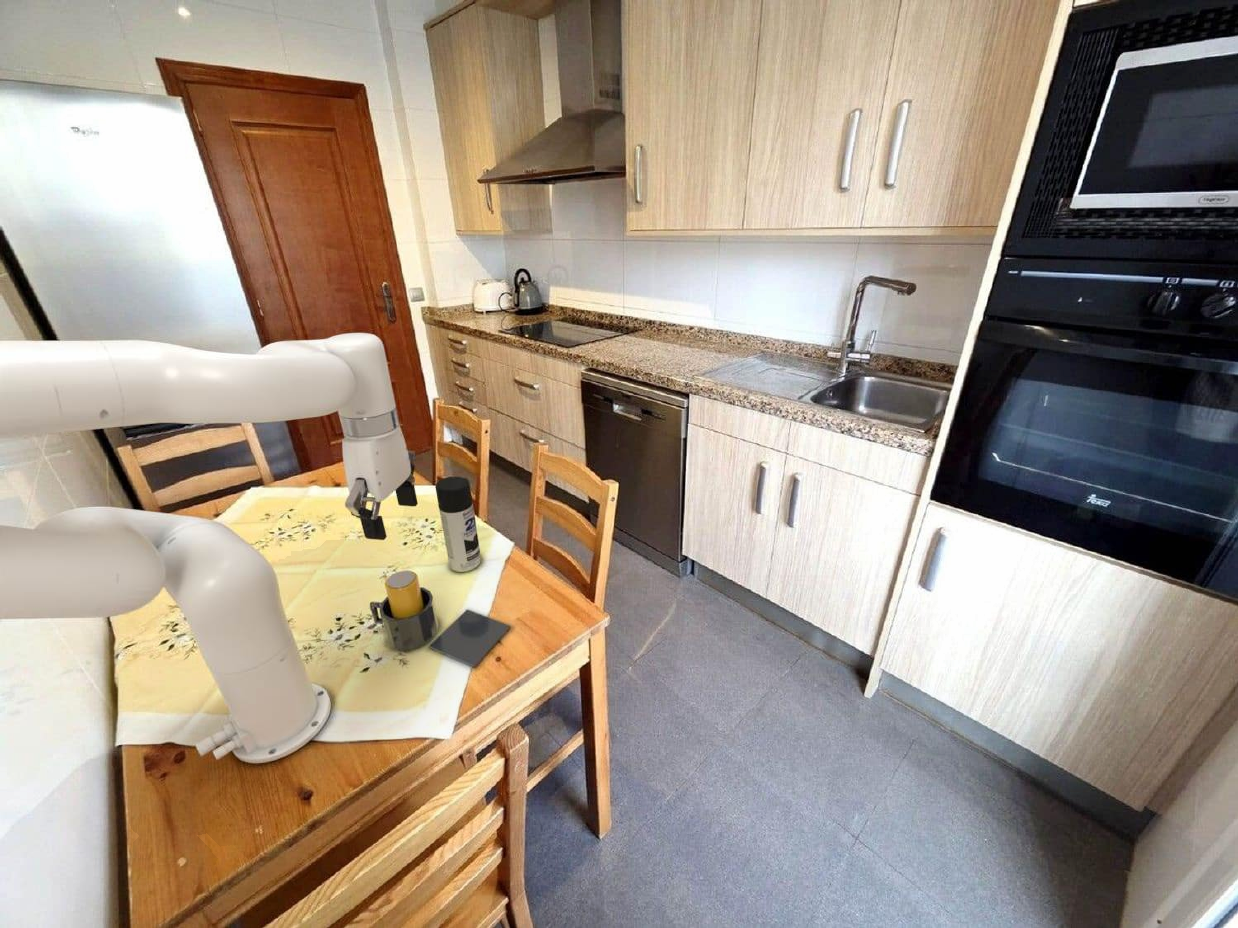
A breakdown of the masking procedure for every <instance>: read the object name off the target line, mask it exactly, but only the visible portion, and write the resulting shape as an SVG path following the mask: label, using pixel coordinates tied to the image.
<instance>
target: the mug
mask: <svg viewBox="0 0 1238 928" xmlns="http://www.w3.org/2000/svg"><path fill="white" fill-rule="evenodd" d="M420 590H421V595H422V600H423V605H424V610H422V611H421V612H419V613H418V614H416V615H414V616H411V617H408V618H402V619H395V618H393V616H392V611H391V607H390V603H389V599H388V595H387V596H386V597H385V598H384V599H383V601H375V600H374V601H370V602H369V608H370V612H371V616H372V619H373V623H375V624H377V625H378V624H379V625H382V626H383V629H384V633H385V637H386V640H387V643H388V645H389V646H390V648H392V650H396V651H400V652H411V651H415V650H419V649H420V648H423V647H424V646H426V645H428V644H429V643H430V642H432V641H433V640H434V638H436V635H437V634H438V631H439V620H438V616H437V611H436V606H435V605H436V604H435V601H434V596H433V594H432V592H431V591H430V590H429V589H427V588H425V587H421V586H420ZM378 609H379V610H378Z"/></svg>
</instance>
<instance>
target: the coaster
mask: <svg viewBox="0 0 1238 928" xmlns="http://www.w3.org/2000/svg"><path fill="white" fill-rule="evenodd" d="M510 630H511V625H509V624H507V623H504V622H500V621H498V620H495V619H493V618H490V617H488V616H486V615H482V614H480V613H477V612H475V611H472V610H469V609H466V610H465V611H464V612H463V613H462V614H461V615H460V616H459V617H457V618H456V620H454V621H453V622H452V623H451V624H450V625H449V626H448V627H447V628H446V629H445V630H444V631H442V633H440V635H439V636H438V637H436V638H435V640H433V641H432V642H431V643H430V644H429V645H428V648H429V649H430V650H433V651H435V652H437V653H440V654H442V655H444V656H447V657H449V658H451V659H453V660H455V661H458V662H460V663H462V664H464V665H467V666H469V667H472V668H474V669H475V668H477V667H478V666H479V664H481V662H483V660H484V659H485V658H486V657H487V656H488V654H490V652H491V651H492V650H493V649H494V648H495V646H496V645H498V643H499V642H500V641H501V640H502V639H503V638H504V637H505V635H506V634H508V632H509V631H510Z"/></svg>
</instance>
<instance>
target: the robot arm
mask: <svg viewBox="0 0 1238 928" xmlns="http://www.w3.org/2000/svg"><path fill="white" fill-rule="evenodd" d="M388 365H389V364H388V361H387V356H386V350H385V346H384V344H383V341H382V340H381V339H380V337H378V336H377V335H376V334H372V333H369V332H350V333H349V332H348V333H341V334H336V335H333V336H330V337H328V338H323V339H322V338H321V339H303V340H301V339H300V340H281V341H280V340H279V341H276V342H272V343H268V344H266V345H265V346H263V347H262V348H260V349H259V350H258V351H257V352H256V353H255V354H248V353H247V354H246V353H232V352H231V353H230V352H228V353H227V352H220V351H212V350H204V349H197V348H194V347H189V346H183V345H179V344H173V343H168V342H161V341H154V340H153V341H152V340H144V339H143V340H141V339H116V340H115V339H114V340H113V339H112V340H111V339H110V340H109V339H107V340H105V339H104V340H103V339H102V340H101V339H100V340H32V339H31V340H0V440H4V439H14V438H26V437H33V436H43V435H52V434H53V435H54V434H63V433H72V432H73V433H74V432H81V431H91V430H101V429H111V428H121V427H130V426H141V425H151V424H171V423H172V424H186V425H187V424H189V425H195V424H196V425H200V424H258V423H259V424H261V423H263V424H264V423H274V422H275V423H276V422H286V421H293V420H300V419H301V420H302V419H309V418H317V417H318V418H319V417H324V416H327V415H330V414H334V413H336V412H337V414H338V417H339V421H340V426H341V430H342V433H343V436H344V437H343V438H342V441H341V443H342V445H341V447H342V449H341V450H342V461H343V462H342V463H343V468H344V474H345V475H344V476H345V480H346V484H347V489H348V493H349V494H348V496H347V498H346V501H345V502H344V507H345V509H347V510H348V511H349V512H350V514H351V516H353V517H356V518H357V519H360V523H361V527H362V532H363V535H364V537H365V539H366V540H378V541H384V540H386V538H387V532H386V527H385V524H384V519H383V516H382V515H379V514H380V510H381V505H382V502H383V501H385V500H386V499H387V498H388V497H389V496H391V495H392V494H393V493H394V492H395V495H396V500H397V504H398V506H402V507H417V505H418V504H419V503H418V497H417V492H416V487H415V484H414V483H415V482H416V478H415V476H414V474H415V468H416V466H415V452H414V451H411V450H408V447H407V443H406V440H405V437H404V433H403V431H402V428H401V425H400V421H399V415H398V411H397V405H396V400H395V395H394V391H393V386H392V385H393V384H392V381H391V376H390V370H389V366H388ZM368 494H370V495H371V496H368ZM368 503H372V505H371V509H369V508H367V504H368ZM163 588H164V590H165V591H166V593H167V594H168V595H169V596H170V598H171V599H172V600H173V601H174V603H175V604H176V606H177V607H178V608H179V610H180V611H181V613H182V614H183V616H184V618H185V619H186V621H187V624H188V626H189V628H190V631H191V634H192V635H193V638H194V641H195V643H196V646H197V648H198V650H199V652H200V654H201V657H202V659H203V660H204V663H205V665H206V667H207V668H208V670H209V672H210V674H211V676H212V678H213V681H214V682H215V684H216V687H217V689H218V691H219V692H220V694H221V697H222V699H223V701H224V703H225V705H226V707H227V709H228V711H229V713H228V714H227V718H228V719H229V721H228V722H227V723H225V724H223V725H222V726H221V727H222V729H220V730H218V731H217V732H215V733H213V734H211V735H210V734H209V736H207V737H204V738H203V739H201V740H200V741H198V742H197V743H195V744H194V745H195V748H196V749H197V752H198V754H199V756H200V757H201V758H202V757H204V756H205V755H207V754H209V753H210V752H212V754H213V756H214V757H215V759H216V761H218V760H220V759H221V758H223V757H224V756H227V755H228V754H229V753H230V752H232V753H233V754H234V756H235V757H236V758H237V759H238V760H239V761H242V762H245V763H248V764H263V763H264V764H265V763H269V762H273V761H277V760H279V759H282V758H284V757H287V756H289V755H290V754H292V753H294V752H296V751H298V750H299V749H300V748H302V747H304V746H305V745H306V744H308V743H309V742H310V741H311V740H313V739H314V738H315V736H317V734H318V733H319V732H320V731H321V730H322V728H323V727H324V725H325V724H326V723H327V720H328V718H329V717H330V713H331V710H332V709H331V708H332V702H331V699H330V695H329V694H328V691H327V690H326V689H325V688H324V687H323V686H321V685H320V684H316V683H312V682H311V679H310V676H309V674H308V671H307V668H306V665H305V663H304V660H303V658H302V655H301V653H300V650H299V647H298V645H297V641H296V638H295V635H294V633H293V631H292V629H291V626H290V624H289V621H288V618H287V614H286V612H285V609H284V605H283V602H282V598H281V597H282V596H281V592H280V585H279V580H278V577H277V573H276V572H275V569H274V567H273V566H272V565H271V563H270V562H269V561H268V559H267V558H266V557H265V555H263V554H262V553H261V552H260V551H259V550H258V549H256V548H255V547H254V546H253V545H252V544H251V543H250V542H248V541H247V540H246V539H244V538H242V537H241V536H240V535H239V534H238V533H236V531H234V530H233V529H232V528H230V527H229V526H227V525H226V524H224V523H222V522H220V521H217V520H213V519H209V518H204V517H198V516H191V515H182V514H174V513H168V512H167V513H166V512H158V511H149V510H141V509H134V508H133V509H132V508H125V507H115V506H84V507H76V508H72V509H68V510H65V511H62V512H58V513H56V514H53V515H51V516H50V517H48V518H46V519H44V520H42V521H41V522H39V523H38V524H37V525H36V526H35V527H34V528H27V527H20V526H19V527H18V526H11V525H4V524H3V525H2V524H1V525H0V620H30V619H33V620H34V619H37V620H38V619H39V620H40V619H97V618H112V617H116V616H122V615H127V614H130V613H132V612H135V611H137V610H140V609H142V608H143V607H145V606H147V605H149V604H150V603H151V602H153V601H154V600H155V599H156V598H157V597H158V596H159V595H160V593H161V591H162V590H163ZM227 741H228V742H227Z"/></svg>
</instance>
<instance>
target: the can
mask: <svg viewBox="0 0 1238 928" xmlns="http://www.w3.org/2000/svg"><path fill="white" fill-rule="evenodd" d="M420 587H421V586H420V582H419V577H418V574H417V573H416V572H414V571H413V570H401V571H397V572H395V573H393V574H391V575H389V576H388V577H387V578H386V580H385V582H384V588H385V592H386V595H387V596H388V599H389V603H390V607H391V611H392V616H393V618H395V619H402V618H408V617H411V616H414V615H416V614H418V613H419V612H421V611H422V610H424V605H423V600H422V595H421V590H420Z"/></svg>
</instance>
